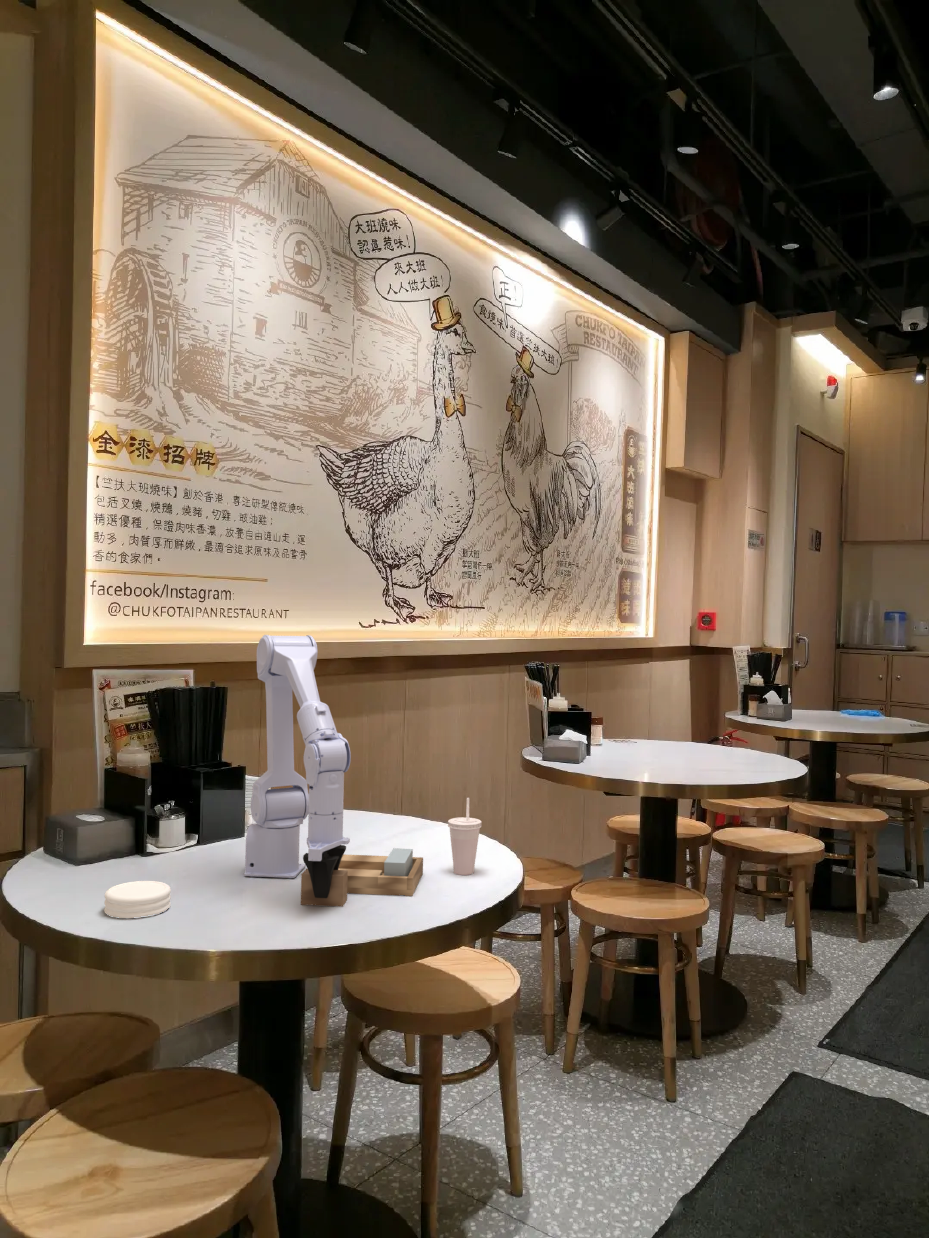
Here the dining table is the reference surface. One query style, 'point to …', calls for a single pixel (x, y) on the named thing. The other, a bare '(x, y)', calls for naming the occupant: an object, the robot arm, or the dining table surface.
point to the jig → (378, 876)
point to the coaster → (137, 899)
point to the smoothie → (464, 842)
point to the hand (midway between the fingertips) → (324, 893)
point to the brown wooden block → (335, 894)
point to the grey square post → (398, 862)
